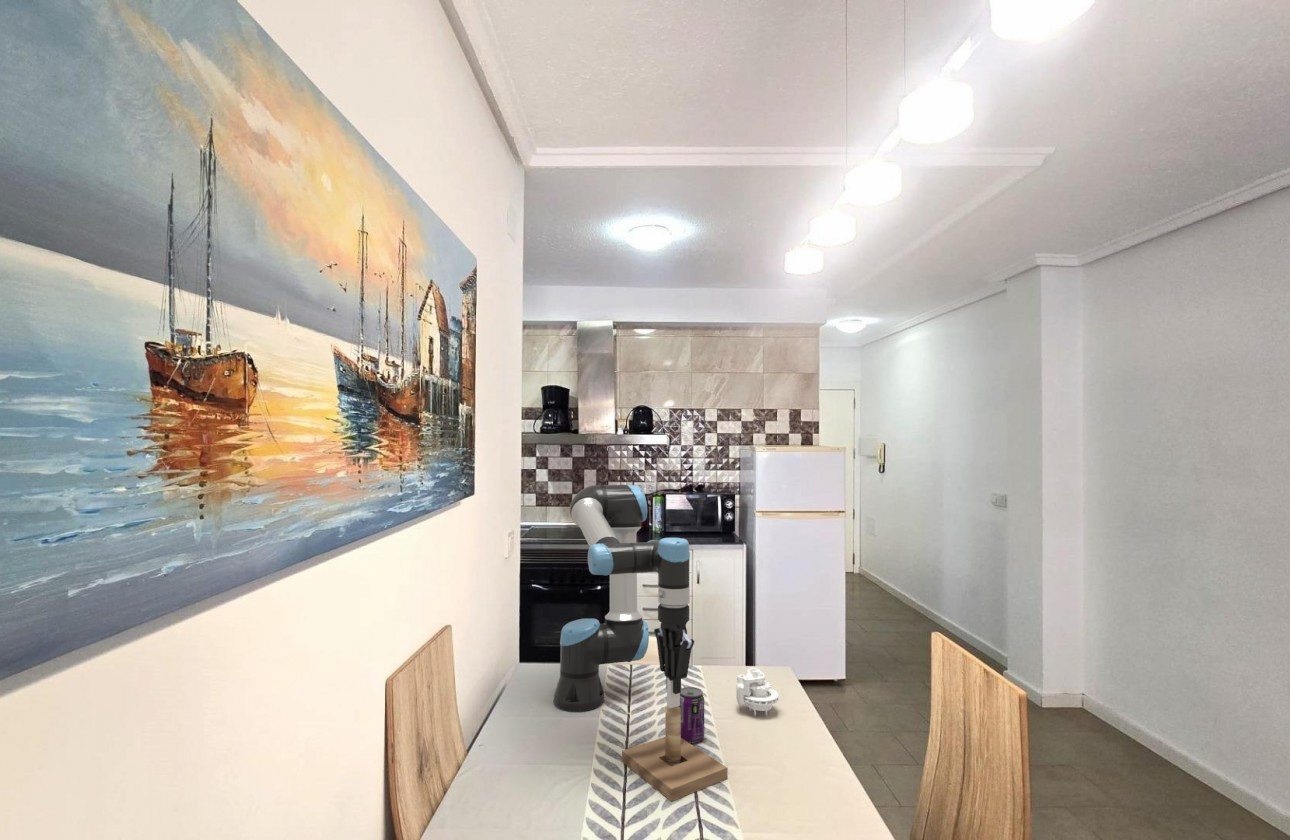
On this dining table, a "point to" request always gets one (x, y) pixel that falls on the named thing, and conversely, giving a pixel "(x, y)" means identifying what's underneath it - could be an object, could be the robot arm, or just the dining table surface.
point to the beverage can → (692, 714)
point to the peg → (673, 735)
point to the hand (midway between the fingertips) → (673, 705)
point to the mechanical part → (755, 691)
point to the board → (674, 768)
